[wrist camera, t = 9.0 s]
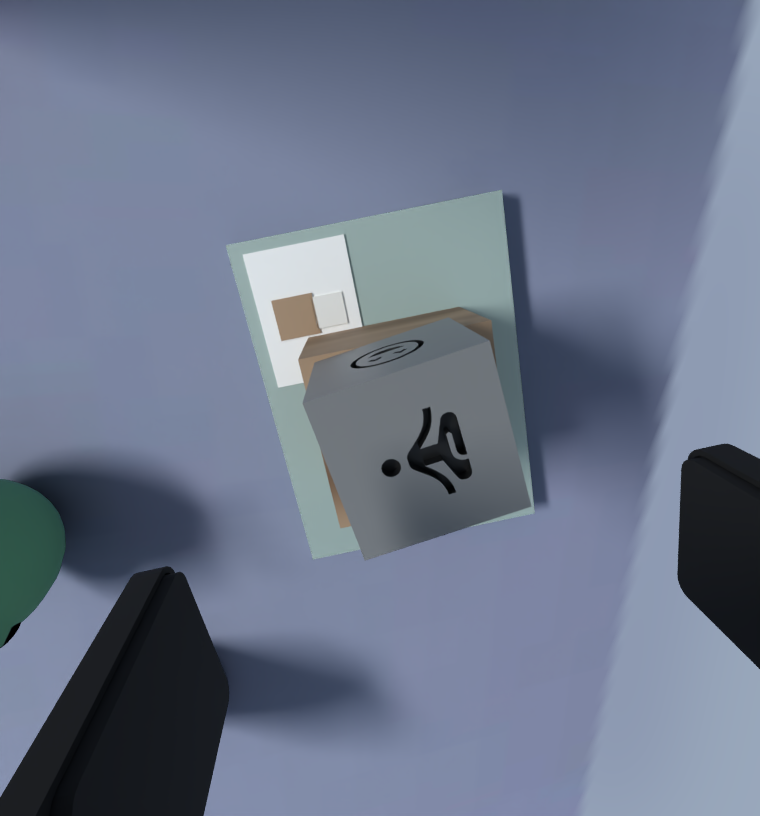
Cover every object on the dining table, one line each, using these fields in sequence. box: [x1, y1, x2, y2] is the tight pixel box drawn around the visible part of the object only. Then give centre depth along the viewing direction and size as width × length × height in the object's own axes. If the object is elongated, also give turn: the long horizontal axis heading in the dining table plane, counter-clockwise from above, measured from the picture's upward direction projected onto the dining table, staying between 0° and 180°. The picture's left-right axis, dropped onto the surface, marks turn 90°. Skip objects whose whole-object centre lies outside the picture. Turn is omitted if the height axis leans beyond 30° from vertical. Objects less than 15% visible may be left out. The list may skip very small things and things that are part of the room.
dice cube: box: [302, 317, 532, 560], centre depth 15 cm, size 5×5×5 cm
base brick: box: [298, 307, 497, 528], centre depth 20 cm, size 7×7×5 cm
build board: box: [226, 190, 535, 559], centre depth 23 cm, size 16×12×1 cm
